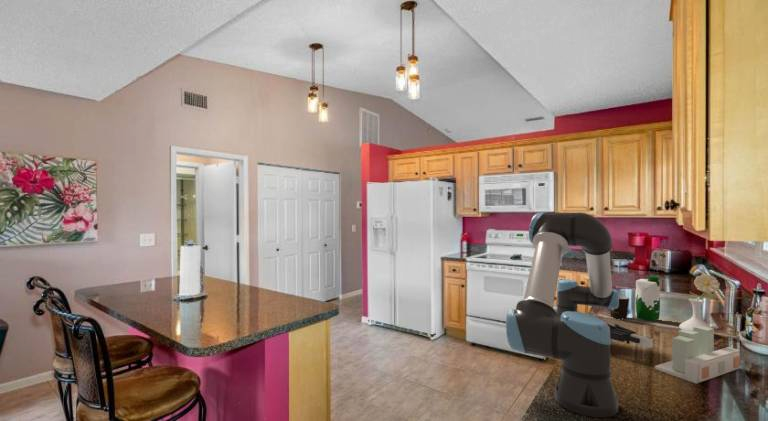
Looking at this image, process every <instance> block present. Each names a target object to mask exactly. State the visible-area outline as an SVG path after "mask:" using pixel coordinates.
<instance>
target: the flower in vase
mask: <svg viewBox="0 0 768 421" xmlns="http://www.w3.org/2000/svg"><path fill="white" fill-rule="evenodd" d="M693 285H695V288H696V289H697V290H699V291H701V292H703V293H702V294H701V296H699V295H698V294H696V293H693V292H692V291H688V292H689V294H691V295H693V296H696V297H698V298H688V300H689V302H690V303H691V306H692V315H691V317H690V318H689V319H687V320H685V321H682V322H681V323H680V324H679V325H678V327H679V329H680V330H683V329H687V330H690V331H693V327H696V326H704V327H708V328H712V329H714V328H713V327H712V326H711V325H709V324H708V323H706V322H705V321H704V320H703V319H702V317H701V307H702V305H703V303H704V302H705V300H703V299H701V298H702V297H703V296H704V297H705V298H706V299H709V300H712V299H713V300H714V299H718V297H717V296H716V295H715V294H713V293H714V292H718V290H719V288H720V286H721V284H720V282H719V280H718V279H717V278H716V277H715V276H712V275H711V274H707V273H705V274H700V275H697V276H696V277H695V279H694V281H693Z"/></svg>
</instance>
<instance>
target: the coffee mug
mask: <svg viewBox="0 0 768 421" xmlns="http://www.w3.org/2000/svg"><path fill="white" fill-rule="evenodd" d="M629 304H630V296H625V295H622V294H619V306H618V308H617V309H612V308H609V314H610V318H611V317H613V318H612V319H614V318H616V319H615V320H618V319H622V318H623V319H626V318H628V312H629V310H628V309H629ZM626 320H627V319H626Z"/></svg>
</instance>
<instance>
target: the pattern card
mask: <svg viewBox="0 0 768 421" xmlns="http://www.w3.org/2000/svg"><path fill="white" fill-rule="evenodd" d="M739 366H740V367H741V355H740V356H739V353H738V352H737V353H734V354H731V355H728V356H725V357H721V358H718V359H715V360H712V361H709V362H706V363H702V364H699V381H700V383H702V381H703V382H705V381H709V380H711V379H714V378H716V376H717V377H720V376H722V375H725V374H728V373H730V372H733V370H734V371H736V369H737V370H740V368H739ZM719 375H720V376H719ZM713 377H714V378H713Z"/></svg>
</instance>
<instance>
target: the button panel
mask: <svg viewBox="0 0 768 421" xmlns="http://www.w3.org/2000/svg"><path fill="white" fill-rule="evenodd" d="M737 352H738V353H739V356H740V357H741V355H740V352H741V350H740V349H738V348H733V347H729V346H727V347H724V348H720V349H717V350H714V351H713V352H710V353H706V354H703V355H700V356H696V357H693V358H690V359H686V360H685V373H682V372H679V371H676V370H674V369H672V360H670V361H667V362H664V363H660V364H657V365H654V369H655V370H657V371H660V372H663V373H665V374H668V375H671V376H674V377H677V378H679V379H683V380H685V381H688V382H690V383H693V384H699V383H702V382H704V381H702V382H700V381H699V364H702V363H706V362H709V361H712V360H715V359H718V358H721V357H725V356H728V355H731V354H734V353H737ZM740 368H741V365H740V366H739V369H740ZM736 370H738V369H736ZM736 370H733V371H736ZM733 371H732V372H733ZM720 376H721V375H719V376H716V377H720ZM716 377H713V378H712V379H714V378H716Z"/></svg>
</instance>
